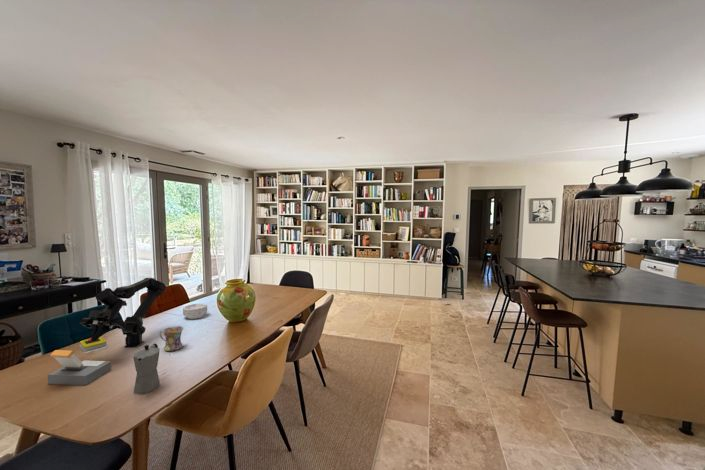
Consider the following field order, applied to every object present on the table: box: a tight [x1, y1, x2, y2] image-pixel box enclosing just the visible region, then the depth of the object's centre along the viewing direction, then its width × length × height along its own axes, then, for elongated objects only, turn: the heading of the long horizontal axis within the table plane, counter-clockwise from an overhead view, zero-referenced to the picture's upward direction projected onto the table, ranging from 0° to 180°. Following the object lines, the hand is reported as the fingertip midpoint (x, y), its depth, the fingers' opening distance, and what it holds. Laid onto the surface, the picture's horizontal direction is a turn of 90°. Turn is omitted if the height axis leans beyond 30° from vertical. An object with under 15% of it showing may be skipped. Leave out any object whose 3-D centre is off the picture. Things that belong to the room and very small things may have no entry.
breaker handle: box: [49, 349, 83, 368], centre depth 119 cm, size 2×7×10 cm, turn 89°
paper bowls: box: [182, 303, 208, 320], centre depth 200 cm, size 15×15×8 cm
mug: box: [159, 325, 184, 352], centre depth 151 cm, size 12×9×11 cm
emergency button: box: [78, 336, 108, 354], centre depth 151 cm, size 9×4×15 cm
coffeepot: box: [132, 343, 161, 395], centre depth 117 cm, size 15×9×18 cm, turn 13°
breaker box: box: [47, 360, 112, 386], centre depth 123 cm, size 12×16×4 cm
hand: (92, 341), depth 130 cm, fingers closed
